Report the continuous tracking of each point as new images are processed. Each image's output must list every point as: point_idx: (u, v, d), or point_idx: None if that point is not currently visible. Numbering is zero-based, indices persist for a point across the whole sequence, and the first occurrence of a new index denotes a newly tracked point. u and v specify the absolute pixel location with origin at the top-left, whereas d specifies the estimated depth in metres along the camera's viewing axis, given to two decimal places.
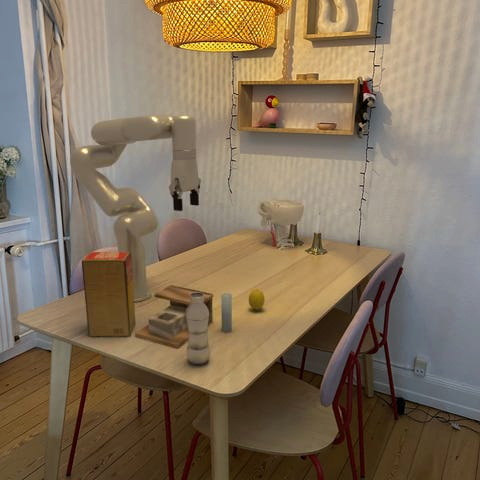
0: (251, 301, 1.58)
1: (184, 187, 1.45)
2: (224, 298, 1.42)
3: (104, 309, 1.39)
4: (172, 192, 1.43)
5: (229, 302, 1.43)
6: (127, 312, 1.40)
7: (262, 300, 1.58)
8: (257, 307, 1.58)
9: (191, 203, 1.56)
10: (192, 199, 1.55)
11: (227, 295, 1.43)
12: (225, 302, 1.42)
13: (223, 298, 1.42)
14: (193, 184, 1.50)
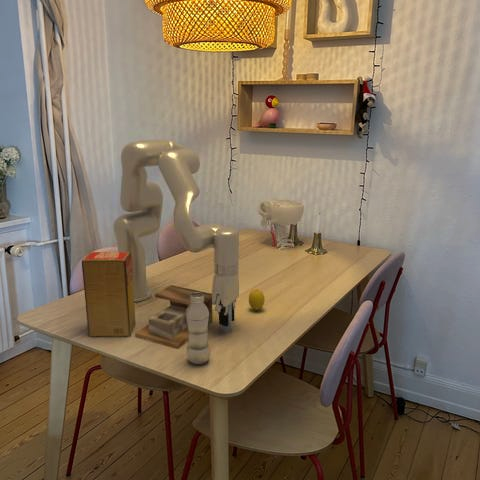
0: (251, 301, 1.58)
1: (226, 303, 1.39)
2: None
3: (104, 309, 1.39)
4: (219, 311, 1.40)
5: None
6: (127, 312, 1.40)
7: (262, 300, 1.58)
8: (257, 307, 1.58)
9: None
10: None
11: None
12: None
13: None
14: (234, 296, 1.44)
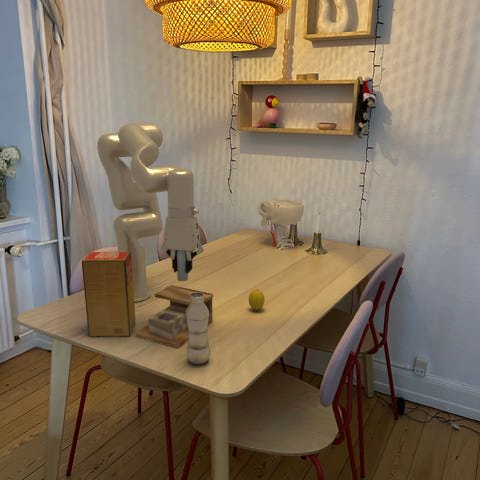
0: (251, 301, 1.58)
1: (167, 245, 1.35)
2: None
3: (104, 309, 1.39)
4: None
5: None
6: (127, 312, 1.40)
7: (262, 300, 1.58)
8: (257, 307, 1.58)
9: None
10: None
11: None
12: None
13: None
14: (183, 245, 1.34)
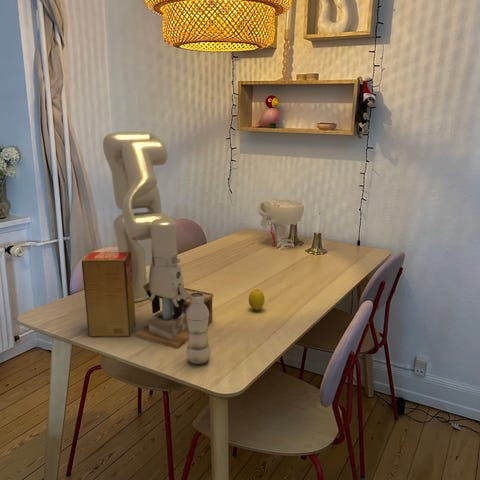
0: (251, 301, 1.58)
1: (151, 290, 1.40)
2: None
3: (104, 309, 1.39)
4: None
5: (162, 301, 1.40)
6: (127, 312, 1.40)
7: (262, 300, 1.58)
8: (257, 307, 1.58)
9: None
10: None
11: None
12: None
13: None
14: (164, 292, 1.37)
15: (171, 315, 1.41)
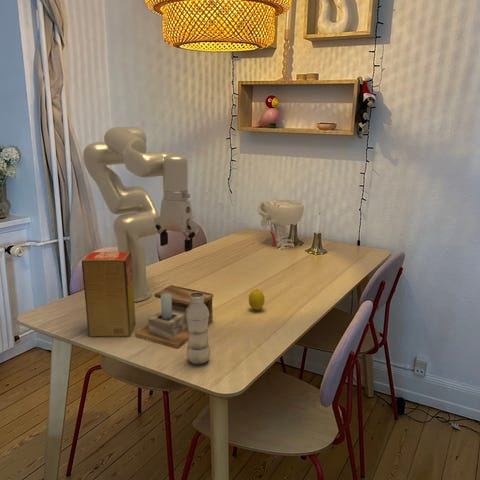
0: (251, 301, 1.58)
1: (162, 224, 1.45)
2: None
3: (104, 309, 1.39)
4: None
5: (161, 302, 1.40)
6: (127, 312, 1.40)
7: (262, 300, 1.58)
8: (257, 307, 1.58)
9: None
10: None
11: (164, 295, 1.40)
12: None
13: None
14: (174, 226, 1.43)
15: (170, 315, 1.41)
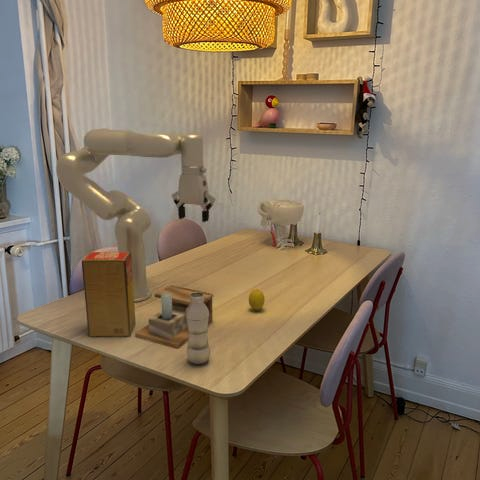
0: (251, 301, 1.58)
1: (180, 198, 1.59)
2: None
3: (104, 309, 1.39)
4: None
5: (161, 301, 1.40)
6: (127, 312, 1.40)
7: (262, 300, 1.58)
8: (257, 307, 1.58)
9: None
10: None
11: (165, 295, 1.40)
12: None
13: None
14: (192, 199, 1.57)
15: (170, 315, 1.41)
